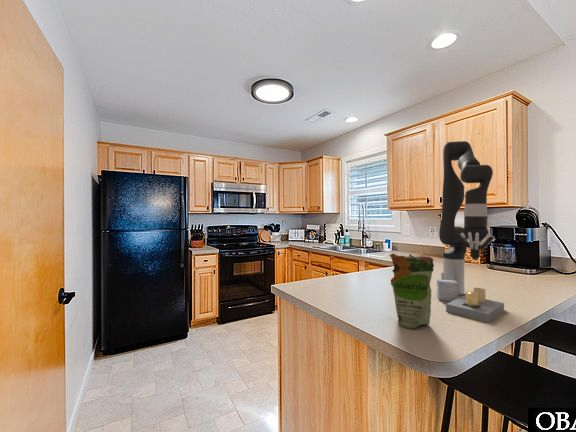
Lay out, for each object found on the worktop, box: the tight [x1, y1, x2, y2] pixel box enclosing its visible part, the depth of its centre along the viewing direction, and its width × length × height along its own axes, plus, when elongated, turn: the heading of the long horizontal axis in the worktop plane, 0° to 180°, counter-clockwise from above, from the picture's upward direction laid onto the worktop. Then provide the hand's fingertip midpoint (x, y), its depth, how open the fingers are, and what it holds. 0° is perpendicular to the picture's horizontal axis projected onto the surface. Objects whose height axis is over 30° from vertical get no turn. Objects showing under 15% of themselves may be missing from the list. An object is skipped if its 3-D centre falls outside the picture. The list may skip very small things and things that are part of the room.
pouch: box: [389, 253, 435, 330], centre depth 94 cm, size 11×12×25 cm
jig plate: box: [445, 287, 505, 323], centre depth 108 cm, size 14×20×8 cm
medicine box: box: [436, 279, 460, 302], centre depth 122 cm, size 8×4×9 cm, turn 71°
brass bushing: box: [465, 291, 478, 309], centre depth 105 cm, size 4×4×8 cm
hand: (475, 258), depth 106 cm, fingers closed
